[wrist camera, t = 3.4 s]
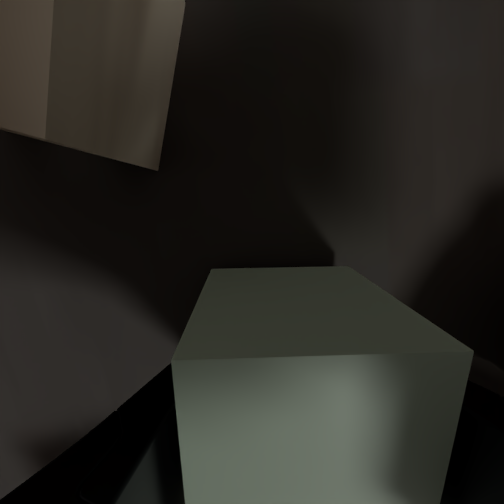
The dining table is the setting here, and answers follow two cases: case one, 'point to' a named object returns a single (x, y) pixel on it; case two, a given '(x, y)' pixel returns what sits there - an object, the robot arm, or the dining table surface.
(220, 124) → the dining table surface
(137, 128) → the beech cube
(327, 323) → the sage cube
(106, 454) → the robot arm
